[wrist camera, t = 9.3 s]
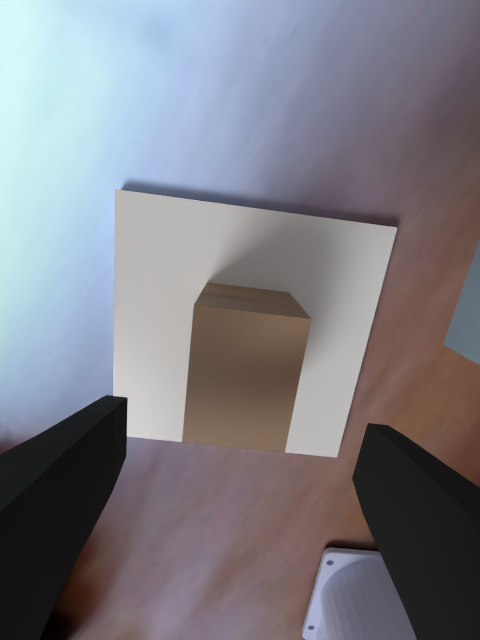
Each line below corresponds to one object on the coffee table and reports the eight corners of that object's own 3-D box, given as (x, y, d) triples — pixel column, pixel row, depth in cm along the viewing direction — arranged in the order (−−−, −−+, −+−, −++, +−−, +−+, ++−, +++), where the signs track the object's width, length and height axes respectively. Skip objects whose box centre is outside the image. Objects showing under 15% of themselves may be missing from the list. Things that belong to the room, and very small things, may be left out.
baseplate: (334, 450, 20) (336, 457, 19) (116, 428, 19) (112, 435, 18) (391, 227, 16) (397, 227, 15) (119, 190, 15) (115, 189, 15)
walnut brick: (271, 392, 18) (284, 452, 13) (196, 384, 18) (181, 442, 13) (289, 292, 16) (311, 319, 11) (206, 282, 16) (193, 304, 11)
